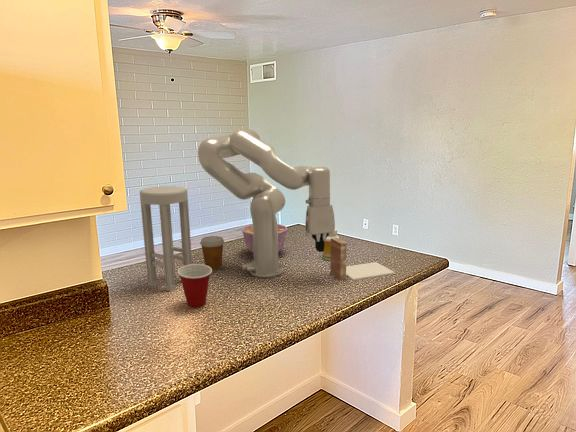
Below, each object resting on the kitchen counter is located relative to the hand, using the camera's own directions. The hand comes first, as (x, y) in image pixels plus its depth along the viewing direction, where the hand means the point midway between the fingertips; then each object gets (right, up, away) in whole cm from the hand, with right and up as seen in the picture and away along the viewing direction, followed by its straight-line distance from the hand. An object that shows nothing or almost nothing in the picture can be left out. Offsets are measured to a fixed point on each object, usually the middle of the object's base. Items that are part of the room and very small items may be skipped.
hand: (319, 250), depth 156 cm
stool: (-55, -12, 0) cm, 56 cm away
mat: (+18, -9, +10) cm, 23 cm away
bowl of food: (-22, -4, +33) cm, 40 cm away
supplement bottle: (+7, -5, +26) cm, 27 cm away
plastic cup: (-41, -16, -18) cm, 48 cm away
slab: (+7, -10, +5) cm, 13 cm away
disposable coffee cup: (-42, -8, +16) cm, 46 cm away
